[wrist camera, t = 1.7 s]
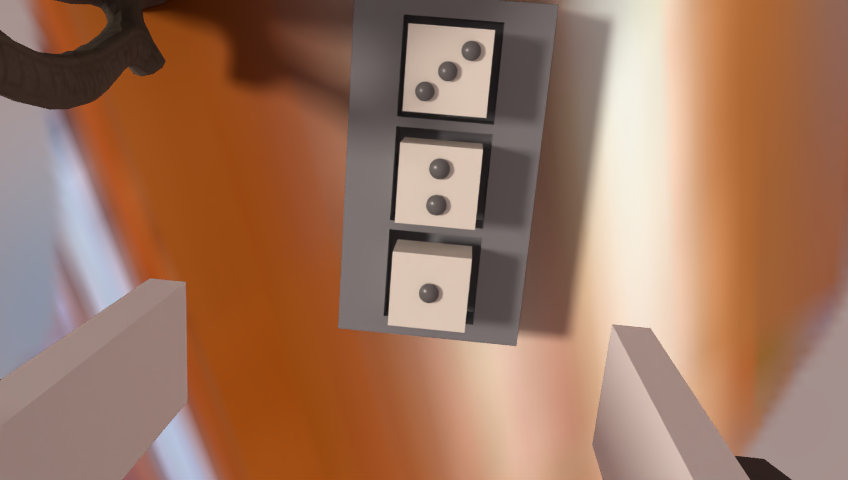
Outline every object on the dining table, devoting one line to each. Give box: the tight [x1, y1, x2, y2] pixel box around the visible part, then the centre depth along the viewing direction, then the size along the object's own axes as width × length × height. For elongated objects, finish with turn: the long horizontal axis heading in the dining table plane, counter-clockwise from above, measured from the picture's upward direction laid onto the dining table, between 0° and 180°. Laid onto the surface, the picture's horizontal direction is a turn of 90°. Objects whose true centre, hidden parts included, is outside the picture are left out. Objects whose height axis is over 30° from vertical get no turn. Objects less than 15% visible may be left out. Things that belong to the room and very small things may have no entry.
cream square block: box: [395, 137, 483, 230], centre depth 34 cm, size 4×4×3 cm
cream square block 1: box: [388, 239, 472, 333], centre depth 36 cm, size 4×4×3 cm
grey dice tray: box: [338, 0, 558, 346], centre depth 37 cm, size 10×18×3 cm, turn 176°
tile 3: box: [402, 23, 495, 118], centre depth 33 cm, size 4×4×3 cm
